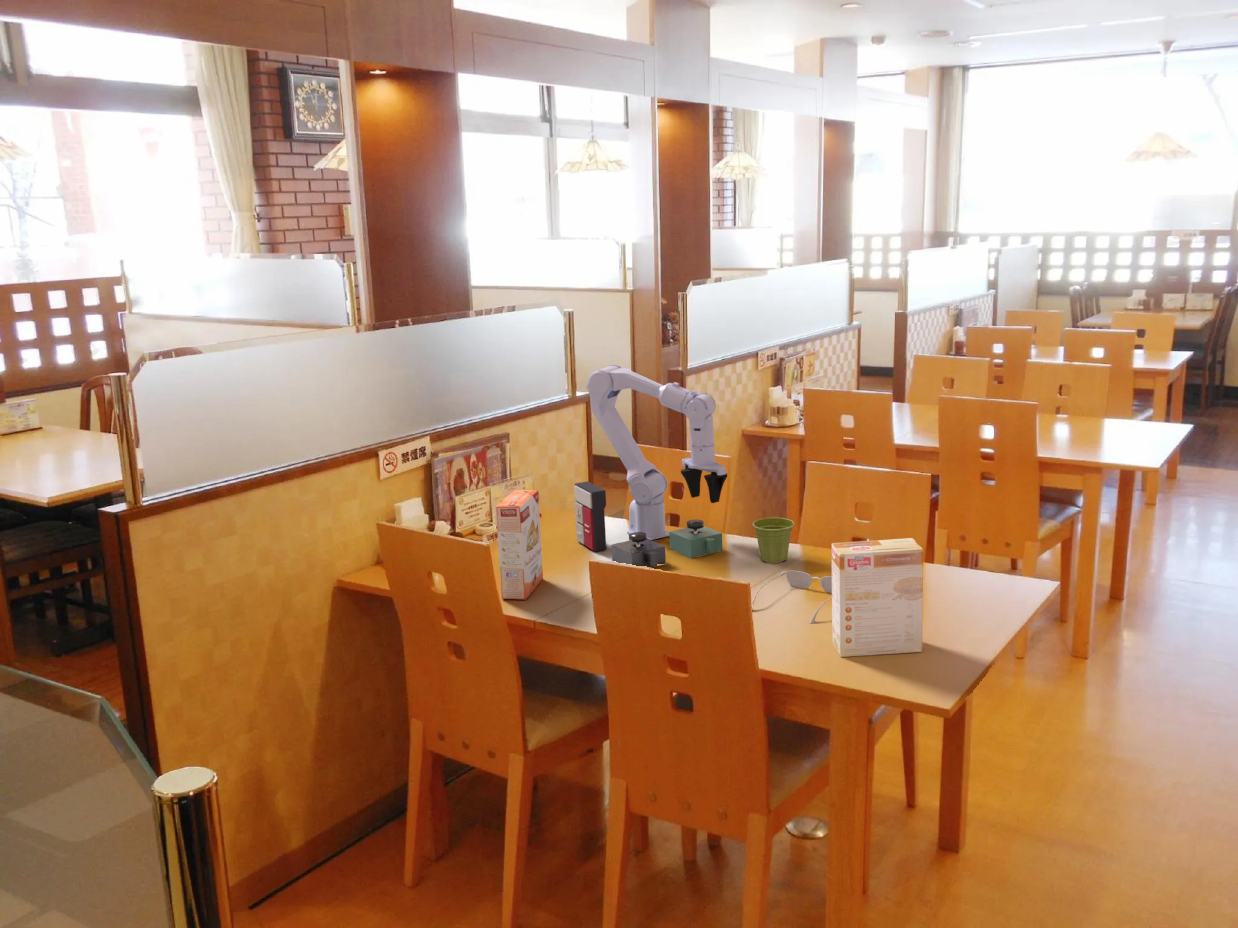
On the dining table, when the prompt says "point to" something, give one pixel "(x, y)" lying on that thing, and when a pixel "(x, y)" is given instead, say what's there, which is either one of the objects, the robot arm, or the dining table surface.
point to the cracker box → (519, 544)
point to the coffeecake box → (877, 597)
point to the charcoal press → (639, 553)
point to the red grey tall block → (590, 515)
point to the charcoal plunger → (637, 537)
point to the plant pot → (773, 538)
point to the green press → (695, 542)
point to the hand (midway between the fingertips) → (705, 499)
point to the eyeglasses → (805, 584)
